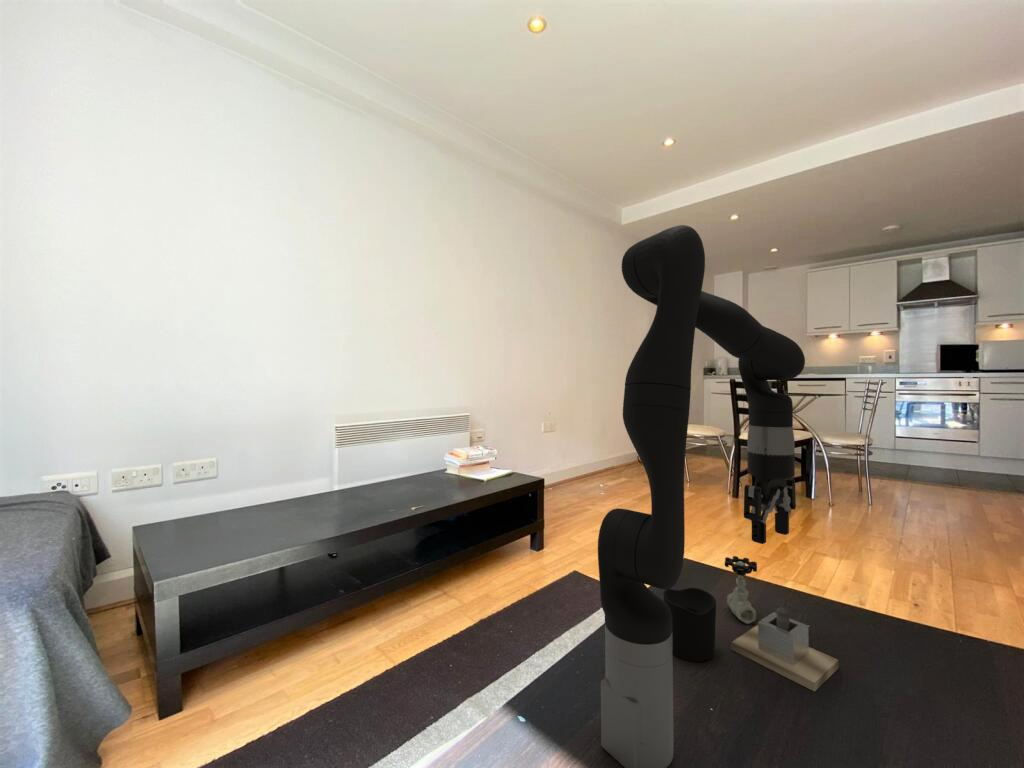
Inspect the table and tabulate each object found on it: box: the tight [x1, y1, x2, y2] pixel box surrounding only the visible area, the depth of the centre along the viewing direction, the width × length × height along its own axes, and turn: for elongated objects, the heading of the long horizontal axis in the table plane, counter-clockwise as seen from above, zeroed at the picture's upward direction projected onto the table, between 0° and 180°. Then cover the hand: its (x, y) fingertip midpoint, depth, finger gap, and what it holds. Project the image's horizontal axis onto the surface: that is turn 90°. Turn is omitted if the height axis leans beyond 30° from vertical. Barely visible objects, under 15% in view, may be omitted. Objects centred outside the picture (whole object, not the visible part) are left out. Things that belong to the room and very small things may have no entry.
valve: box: [724, 555, 758, 625], centre depth 96 cm, size 7×7×12 cm
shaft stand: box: [731, 606, 840, 692], centre depth 82 cm, size 10×14×10 cm
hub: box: [757, 611, 810, 665], centre depth 82 cm, size 6×6×5 cm
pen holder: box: [662, 587, 717, 663], centre depth 85 cm, size 9×9×10 cm
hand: (770, 537), depth 82 cm, fingers open, 8 cm apart
